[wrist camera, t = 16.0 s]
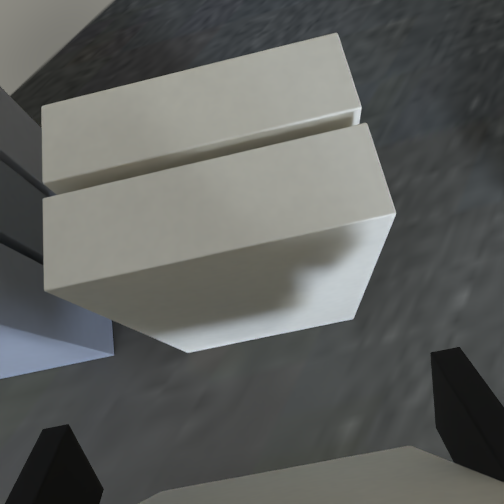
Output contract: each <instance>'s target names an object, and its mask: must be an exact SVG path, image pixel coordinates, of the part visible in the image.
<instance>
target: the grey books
mask: <svg viewBox="0 0 504 504" xmlns="http://www.w3.org/2000/svg"><path fill="white" fill-rule="evenodd" d="M55 195H56V194H55V193H54V192H53V191H51V190H50V189H49V188H48V187H47V186H45V185H44V184H43V182H42V128H41V127H40V126H39V125H38V124H37V123H36V122H35V121H34V120H33V119H32V118H31V117H30V116H29V115H28V114H27V113H26V112H25V111H24V110H23V109H22V108H21V107H20V106H19V105H18V104H17V103H16V102H15V101H14V100H13V99H12V98H11V97H10V96H9V95H8V94H7V93H6V92H5V91H4V90H3V89H2V88H1V87H0V379H2V378H7V377H12V376H17V375H21V374H26V373H31V372H36V371H41V370H46V369H50V368H55V367H60V366H65V365H70V364H75V363H79V362H84V361H89V360H94V359H99V358H104V357H108V356H113V355H114V345H113V331H112V320H110V319H108V318H106V317H104V316H101V315H99V314H97V313H94V312H92V311H90V310H87V309H85V308H83V307H80V306H78V305H76V304H73V303H71V302H69V301H66V300H64V299H62V298H59V297H57V296H55V295H52V294H50V293H48V292H45V291H44V262H43V198H47V197H51V196H55Z"/></svg>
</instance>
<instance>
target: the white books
mask: <svg viewBox="0 0 504 504" xmlns="http://www.w3.org/2000/svg"><path fill="white" fill-rule="evenodd" d="M361 109H362V106H361V103H360V100H359V97H358V94H357V91H356V88H355V85H354V82H353V79H352V76H351V73H350V70H349V66H348V63H347V60H346V57H345V54H344V51H343V48H342V45H341V42H340V39H339V36H338V34H337V33H333V34H329V35H325V36H321V37H317V38H313V39H309V40H305V41H301V42H297V43H292V44H288V45H284V46H280V47H276V48H272V49H268V50H264V51H260V52H256V53H252V54H248V55H244V56H240V57H236V58H232V59H228V60H224V61H220V62H216V63H212V64H208V65H204V66H200V67H196V68H192V69H188V70H184V71H180V72H176V73H172V74H168V75H164V76H160V77H156V78H152V79H148V80H144V81H140V82H136V83H132V84H128V85H124V86H120V87H116V88H112V89H108V90H104V91H100V92H96V93H92V94H88V95H84V96H80V97H76V98H72V99H68V100H64V101H60V102H56V103H52V104H48V105H43V106H42V107H41V118H42V182H43V184H44V185H45V186H47V187H48V188H49V189H50V190H51V191H53V192H54V193H55V194H56V195H55V196H51V197H47V198H43V262H44V291H45V292H48V293H50V294H52V295H55V296H57V297H59V298H62V299H64V300H66V301H69V302H71V303H73V304H76V305H78V306H80V307H83V308H85V309H87V310H90V311H92V312H94V313H97V314H99V315H101V316H104V317H106V318H108V319H110V320H113V321H115V322H117V323H120V324H122V325H124V326H127V327H129V328H131V329H134V330H136V331H138V332H141V333H143V334H145V335H148V336H150V337H152V338H155V339H157V340H159V341H162V342H164V343H166V344H169V345H171V346H173V347H176V348H178V349H180V350H183V351H185V352H187V353H190V352H195V351H200V350H205V349H209V348H214V347H219V346H224V345H229V344H234V343H239V342H244V341H248V340H253V339H258V338H263V337H268V336H273V335H278V334H283V333H288V332H292V331H297V330H302V329H307V328H312V327H317V326H322V325H327V324H332V323H336V322H341V321H346V320H351V319H354V316H355V314H356V311H357V309H358V306H359V304H360V301H361V299H362V297H363V294H364V292H365V289H366V287H367V284H368V282H369V279H370V277H371V274H372V272H373V270H374V267H375V265H376V262H377V260H378V257H379V255H380V252H381V250H382V247H383V245H384V242H385V240H386V238H387V235H388V233H389V230H390V228H391V225H392V223H393V220H394V218H395V215H396V211H395V208H394V204H393V201H392V198H391V195H390V192H389V189H388V186H387V183H386V180H385V177H384V174H383V171H382V168H381V164H380V161H379V158H378V155H377V152H376V149H375V146H374V143H373V140H372V137H371V134H370V131H369V128H368V125H367V123H363V124H359V122H360V115H361Z"/></svg>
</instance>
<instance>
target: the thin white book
mask: <svg viewBox="0 0 504 504" xmlns="http://www.w3.org/2000/svg"><path fill="white" fill-rule="evenodd" d="M139 504H504V482H501V481H499V480H496V479H494V478H491V477H489V476H486V475H484V474H481V473H479V472H476V471H473V470H471V469H468V468H466V467H463V466H461V465H458V464H456V463H453V462H451V461H448V460H445V459H443V458H440V457H438V456H435V455H433V454H430V453H428V452H425V451H423V450H420V449H417V448H415V447H412V446H405V447H399V448H394V449H388V450H383V451H378V452H372V453H367V454H361V455H356V456H350V457H345V458H340V459H334V460H329V461H323V462H318V463H312V464H307V465H302V466H296V467H291V468H285V469H280V470H274V471H269V472H264V473H258V474H253V475H247V476H242V477H236V478H231V479H226V480H220V481H215V482H209V483H204V484H199V485H193V486H188V487H182V488H177V489H171V490H166V491H161V492H159V493H158V494H156V495H154V496H152V497H150V498H148V499H146V500H144V501H142V502H140V503H139Z"/></svg>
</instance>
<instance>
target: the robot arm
mask: <svg viewBox="0 0 504 504" xmlns="http://www.w3.org/2000/svg"><path fill="white" fill-rule="evenodd" d="M431 366H432V380H433V394H434V408H435V422H436V428H437V430H438V432H439V434H440V436H441V438H442V440H443V442H444V444H445V446H446V448H447V450H448V452H449V454H450V455H451V457H452V459H453V461H454V463H456V464H458V465H461V466H463V467H466V468H468V469H471V470H473V471H476V472H479V473H481V474H484V475H486V476H489V477H491V478H494V479H496V480H499V481H501V482H504V407H503V406H502V404H501V403H500V401H499V400H498V399H497V397H496V396H495V395H494V393H493V392H492V391H491V389H490V388H489V387H488V385H487V384H486V382H485V381H484V380H483V378H482V377H481V376H480V374H479V373H478V372H477V370H476V369H475V367H474V366H473V365H472V363H471V362H470V361H469V359H468V358H467V357H466V355H465V354H464V353H463V351H462V350H461V348H460V347H457V348H452V349H447V350H442V351H437V352H432V353H431ZM103 490H104V489H103V487H102V485H101V483H100V482H99V480H98V478H97V476H96V474H95V472H94V470H93V469H92V467H91V465H90V463H89V461H88V459H87V458H86V456H85V454H84V452H83V450H82V448H81V446H80V445H79V443H78V441H77V439H76V437H75V435H74V434H73V432H72V430H71V428H70V426H69V424H67V425H62V426H57V427H52V428H47V429H43V430H42V432H41V434H40V436H39V438H38V440H37V442H36V444H35V446H34V448H33V450H32V452H31V454H30V456H29V458H28V459H27V461H26V463H25V465H24V467H23V469H22V471H21V473H20V475H19V477H18V479H17V481H16V483H15V485H14V487H13V489H12V491H11V493H10V495H9V497H8V499H7V501H6V503H5V504H99V503H100V499H101V496H102V493H103Z"/></svg>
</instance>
